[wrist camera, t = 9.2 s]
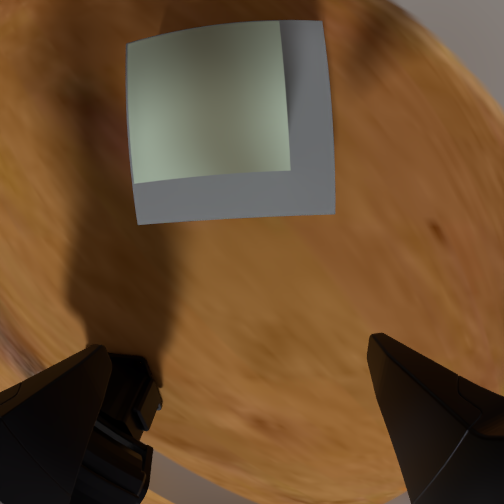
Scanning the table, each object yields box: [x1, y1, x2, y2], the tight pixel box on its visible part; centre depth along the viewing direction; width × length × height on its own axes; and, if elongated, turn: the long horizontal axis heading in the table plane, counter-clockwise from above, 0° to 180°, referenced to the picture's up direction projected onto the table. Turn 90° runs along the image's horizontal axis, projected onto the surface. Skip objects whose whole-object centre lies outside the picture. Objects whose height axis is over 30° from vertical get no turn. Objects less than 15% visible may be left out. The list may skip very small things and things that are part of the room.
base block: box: [126, 20, 335, 225], centre depth 15 cm, size 10×10×4 cm
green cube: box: [127, 21, 291, 184], centre depth 10 cm, size 5×5×5 cm
